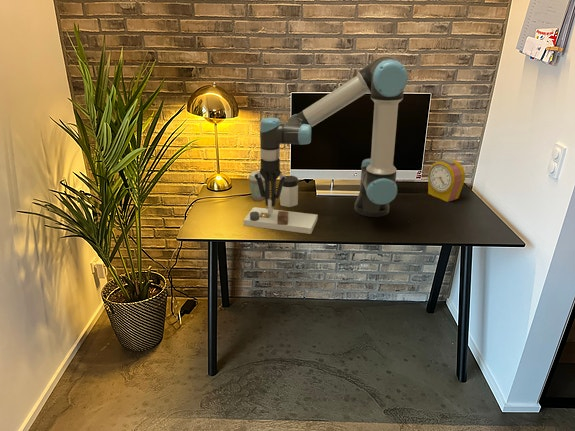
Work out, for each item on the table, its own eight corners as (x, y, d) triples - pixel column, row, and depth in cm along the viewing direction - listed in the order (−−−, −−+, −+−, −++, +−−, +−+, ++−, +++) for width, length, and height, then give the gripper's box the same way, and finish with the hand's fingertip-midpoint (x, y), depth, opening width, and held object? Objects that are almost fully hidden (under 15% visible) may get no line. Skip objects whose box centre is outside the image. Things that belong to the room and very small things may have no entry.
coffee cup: (250, 202, 207) (250, 177, 202) (247, 195, 214) (247, 171, 209) (269, 200, 209) (269, 176, 204) (265, 193, 216) (265, 170, 211)
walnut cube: (288, 220, 185) (288, 211, 183) (287, 224, 181) (287, 215, 179) (278, 220, 185) (278, 211, 183) (277, 224, 181) (277, 215, 180)
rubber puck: (260, 217, 187) (260, 212, 186) (257, 221, 184) (257, 215, 183) (251, 216, 188) (251, 211, 187) (248, 220, 185) (248, 214, 184)
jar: (285, 208, 201) (285, 183, 196) (275, 202, 207) (275, 177, 202) (301, 204, 206) (302, 179, 200) (291, 198, 212) (292, 174, 207)
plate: (317, 220, 191) (317, 214, 190) (310, 233, 180) (311, 228, 179) (253, 212, 197) (253, 207, 196) (243, 225, 186) (243, 219, 185)
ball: (259, 216, 191) (265, 220, 192) (257, 219, 189) (263, 223, 189) (263, 210, 190) (269, 215, 190) (261, 213, 187) (267, 218, 187)
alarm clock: (424, 192, 219) (429, 156, 211) (435, 189, 223) (441, 153, 215) (449, 203, 208) (456, 165, 200) (461, 199, 212) (468, 162, 204)
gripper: (288, 156, 180) (288, 211, 190) (257, 153, 182) (258, 207, 193) (283, 162, 173) (283, 218, 183) (251, 159, 176) (252, 214, 186)
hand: (270, 212), depth 188 cm, fingers closed
